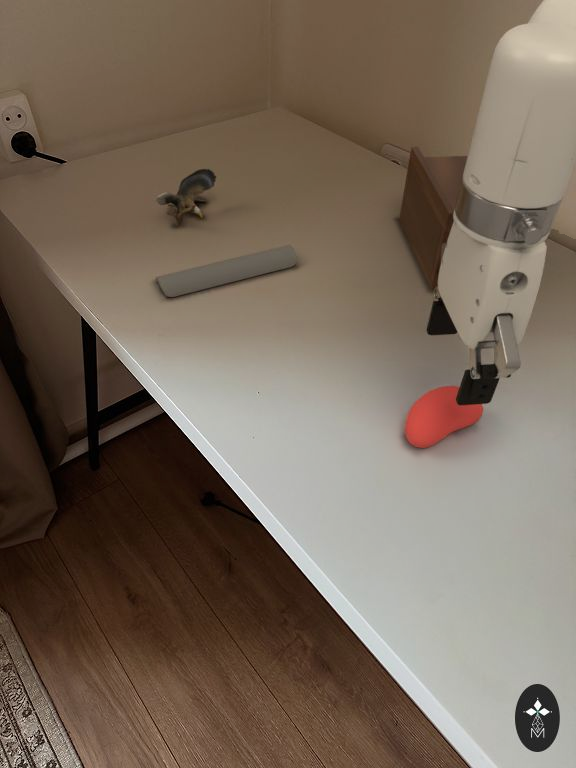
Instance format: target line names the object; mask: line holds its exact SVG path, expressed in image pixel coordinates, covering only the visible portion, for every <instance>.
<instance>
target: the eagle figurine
mask: <svg viewBox="0 0 576 768" xmlns="http://www.w3.org/2000/svg"><path fill="white" fill-rule="evenodd" d="M216 180H217V176H216V174H215V172H214V171H213V170H211V169H210V168H199V169H197V170H195V171H194V172H192V173H190V174H189V175H186V177H184V178H183V179H182V180H181V181H180V183H179V186H178V190H177V193H176V194H173V193H171V192H169V191H167V192H163V193H162V194H159V195H158V196H156V197H155V199H156V200H155V202H156V203H157V204H158V205H160V206H166V205H167V206H168V207H171V208H172V209H173V211H172V212H167V215H168V216H174V218H175V222H174V223H175V227H177V228H178V226H179V225H180V224H181V223H182V222H183V220H184V217H185V215H186V214H187V213H193V214H194V215H197V216H199V217H200V218H201V219H203V214H202V210H201V209H200V208H199V207H198V206H197V205H196V204H195V202H206V200H205V199H203V198H201V197H197V196H199V195H202V194H204V193H205V192H206V191H209V190H211V189H212V188H213V187H214V186H215V182H216Z"/></svg>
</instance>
